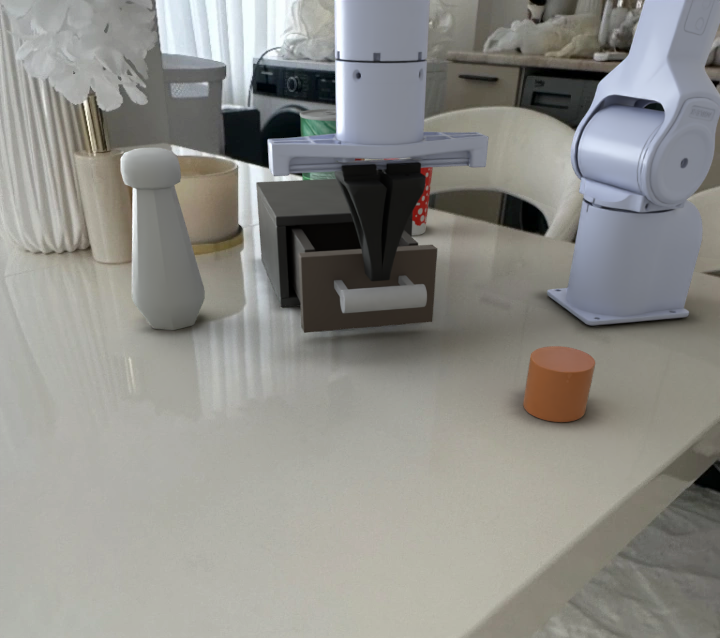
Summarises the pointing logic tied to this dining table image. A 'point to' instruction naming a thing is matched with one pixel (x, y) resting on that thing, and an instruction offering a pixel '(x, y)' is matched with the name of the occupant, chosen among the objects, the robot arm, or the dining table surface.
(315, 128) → the canned tomato
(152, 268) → the salt shaker
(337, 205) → the open desk drawer box
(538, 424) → the dining table surface
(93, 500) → the dining table surface
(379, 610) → the dining table surface
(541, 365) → the cylinder
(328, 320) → the pod drawer
